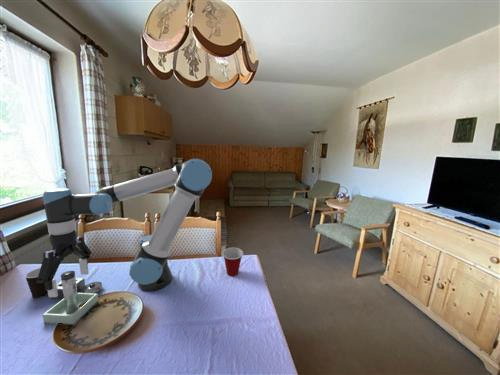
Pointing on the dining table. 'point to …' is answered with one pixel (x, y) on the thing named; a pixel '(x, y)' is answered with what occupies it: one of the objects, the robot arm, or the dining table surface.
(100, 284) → the pulley wheel
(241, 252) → the plastic cup
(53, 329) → the dining table surface
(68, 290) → the clear bottle
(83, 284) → the block
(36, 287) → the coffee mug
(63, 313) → the tray
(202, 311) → the dining table surface
